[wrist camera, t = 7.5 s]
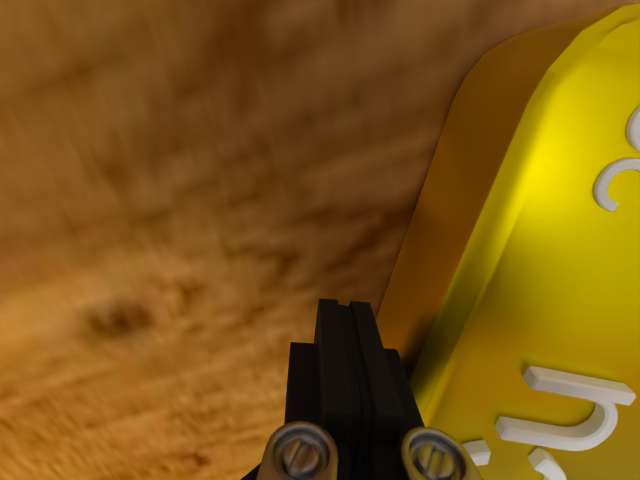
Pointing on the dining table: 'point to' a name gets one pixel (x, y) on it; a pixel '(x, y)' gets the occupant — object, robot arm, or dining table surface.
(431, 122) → the dining table surface
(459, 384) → the element tile
